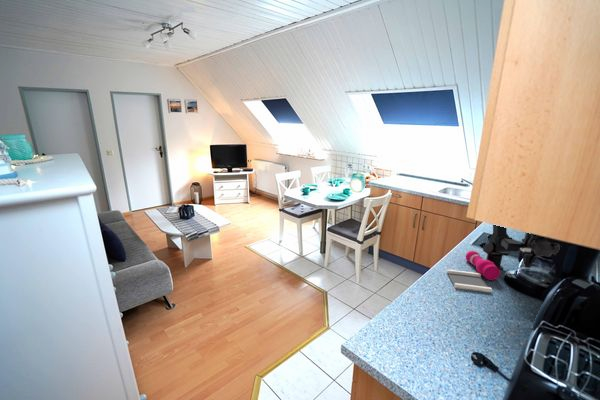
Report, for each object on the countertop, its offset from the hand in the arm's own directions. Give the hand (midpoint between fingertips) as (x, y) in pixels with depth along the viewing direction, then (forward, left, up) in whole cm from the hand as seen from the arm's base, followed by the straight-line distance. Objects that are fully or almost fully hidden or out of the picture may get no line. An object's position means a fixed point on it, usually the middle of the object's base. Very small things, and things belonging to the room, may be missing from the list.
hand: (526, 266), depth 108 cm
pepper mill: (-3, -10, -6) cm, 12 cm away
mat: (0, -19, -10) cm, 22 cm away
